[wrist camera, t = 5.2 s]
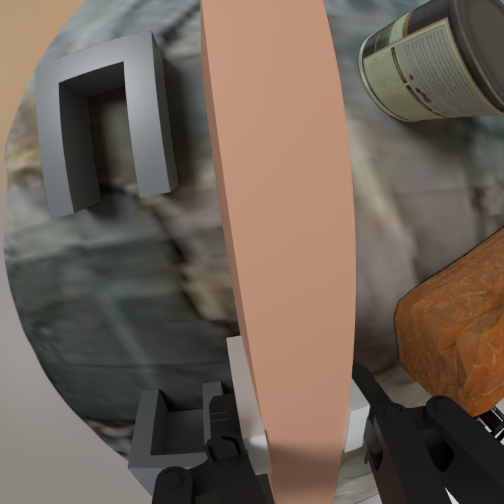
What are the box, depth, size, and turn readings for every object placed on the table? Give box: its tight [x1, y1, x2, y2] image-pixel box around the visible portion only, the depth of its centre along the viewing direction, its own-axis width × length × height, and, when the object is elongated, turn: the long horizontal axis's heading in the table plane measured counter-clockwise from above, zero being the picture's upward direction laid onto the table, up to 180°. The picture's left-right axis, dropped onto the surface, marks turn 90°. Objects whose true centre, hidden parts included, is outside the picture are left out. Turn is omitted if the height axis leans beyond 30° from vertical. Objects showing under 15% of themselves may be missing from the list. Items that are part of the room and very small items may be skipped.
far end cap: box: [128, 381, 224, 497], centre depth 26 cm, size 6×9×11 cm, turn 98°
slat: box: [200, 0, 356, 504], centre depth 13 cm, size 28×3×7 cm, turn 8°
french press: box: [473, 406, 504, 442], centre depth 31 cm, size 12×9×23 cm
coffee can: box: [358, 0, 504, 122], centre depth 17 cm, size 10×10×14 cm
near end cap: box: [36, 30, 179, 219], centre depth 19 cm, size 12×9×6 cm
